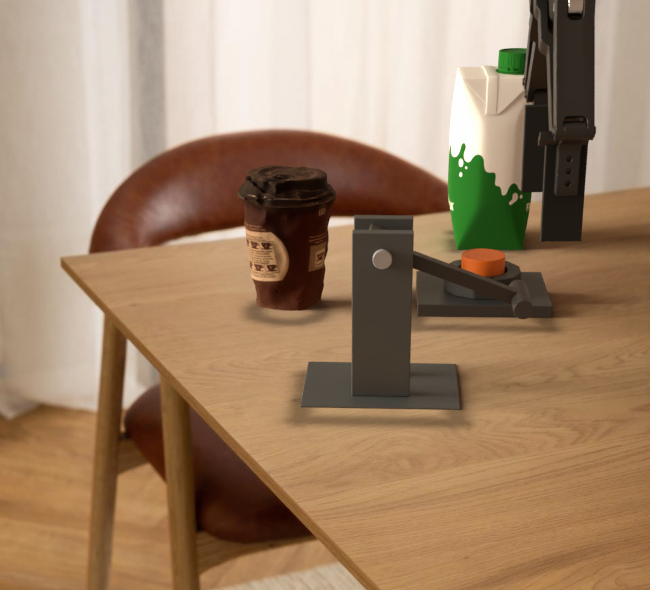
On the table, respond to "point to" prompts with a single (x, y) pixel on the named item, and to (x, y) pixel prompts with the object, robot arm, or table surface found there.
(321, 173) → the coffee cup
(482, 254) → the button
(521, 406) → the table surface
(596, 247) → the table surface
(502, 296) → the switch lever
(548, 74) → the robot arm
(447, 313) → the control block
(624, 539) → the table surface
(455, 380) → the upright post stand
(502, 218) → the milk carton
